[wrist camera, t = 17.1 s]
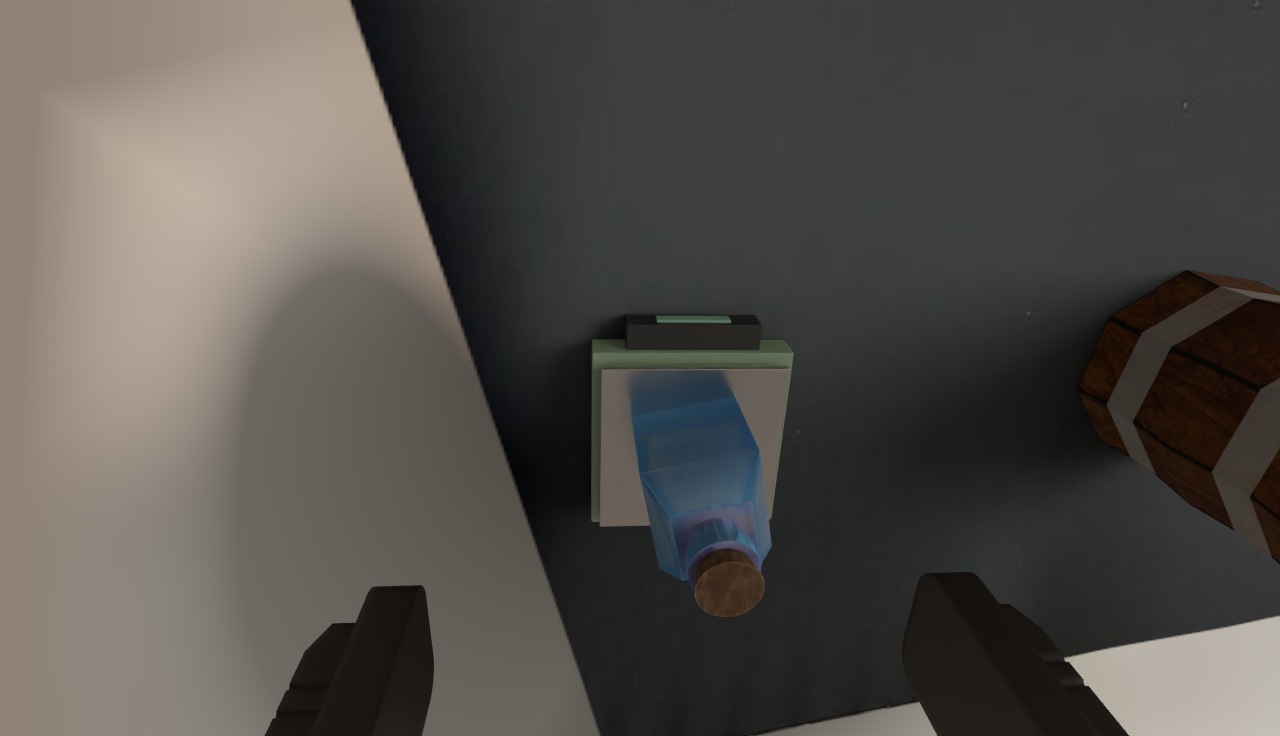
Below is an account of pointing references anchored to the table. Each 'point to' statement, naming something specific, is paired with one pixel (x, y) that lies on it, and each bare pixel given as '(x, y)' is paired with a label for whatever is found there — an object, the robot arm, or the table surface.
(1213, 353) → the mug
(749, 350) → the scale
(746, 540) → the perfume bottle
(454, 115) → the table surface
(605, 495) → the pan
